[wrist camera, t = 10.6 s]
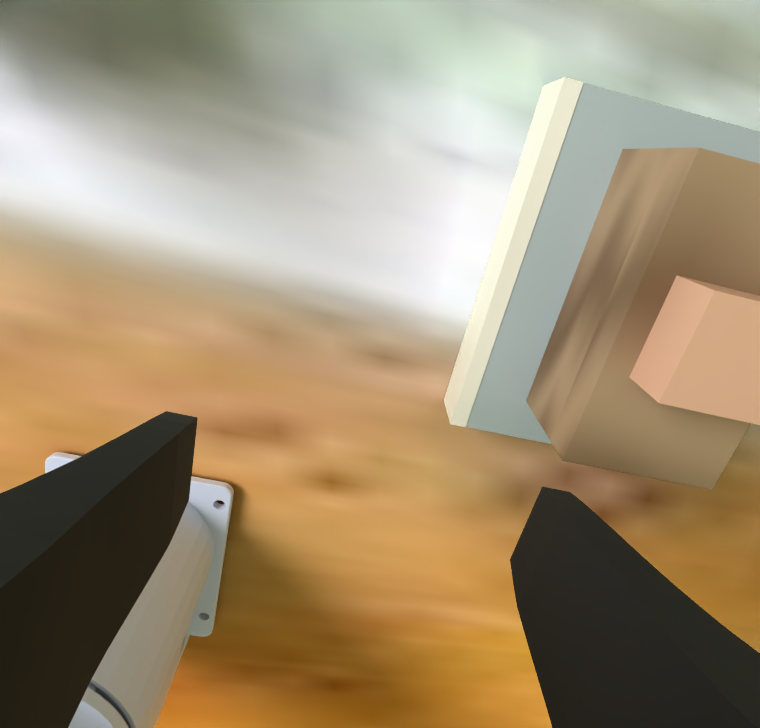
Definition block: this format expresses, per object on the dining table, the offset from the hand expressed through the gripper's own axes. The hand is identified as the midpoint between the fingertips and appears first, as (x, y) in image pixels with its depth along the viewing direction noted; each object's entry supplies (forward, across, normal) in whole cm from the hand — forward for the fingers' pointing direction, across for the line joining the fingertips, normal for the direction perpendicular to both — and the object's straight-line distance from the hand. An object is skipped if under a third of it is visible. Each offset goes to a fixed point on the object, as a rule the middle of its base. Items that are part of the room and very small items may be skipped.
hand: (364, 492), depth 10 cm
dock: (+11, -9, -4) cm, 14 cm away
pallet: (+8, -9, -4) cm, 13 cm away
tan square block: (+5, -9, -4) cm, 10 cm away
